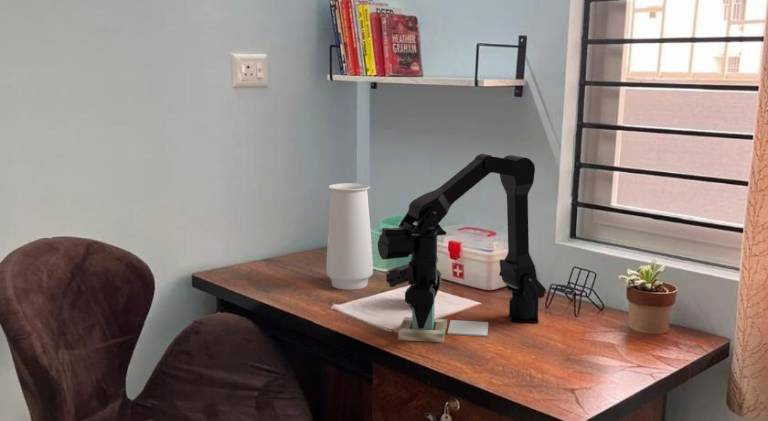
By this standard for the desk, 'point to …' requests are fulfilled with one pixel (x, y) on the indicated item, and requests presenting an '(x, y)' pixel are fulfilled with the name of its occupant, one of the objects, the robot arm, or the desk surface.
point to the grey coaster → (468, 328)
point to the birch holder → (422, 331)
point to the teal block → (429, 323)
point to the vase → (349, 237)
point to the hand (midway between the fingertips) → (423, 321)
